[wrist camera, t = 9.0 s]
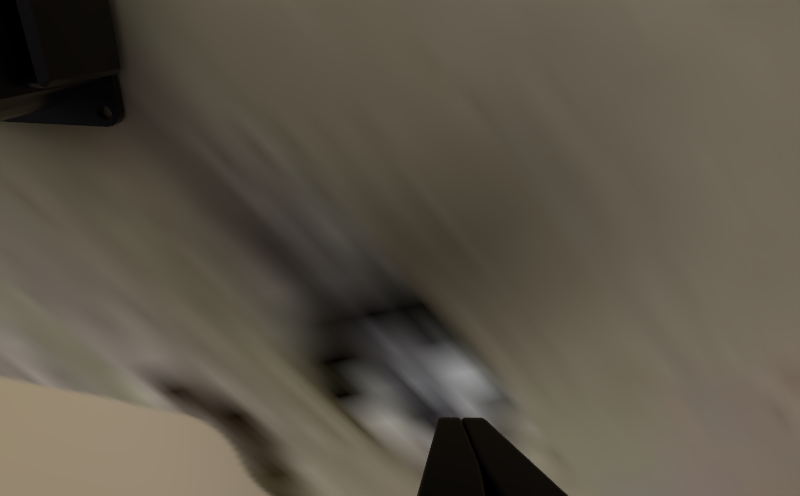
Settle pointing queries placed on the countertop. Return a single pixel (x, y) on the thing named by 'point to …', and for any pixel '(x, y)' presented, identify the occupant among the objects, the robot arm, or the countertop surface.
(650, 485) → the countertop surface
